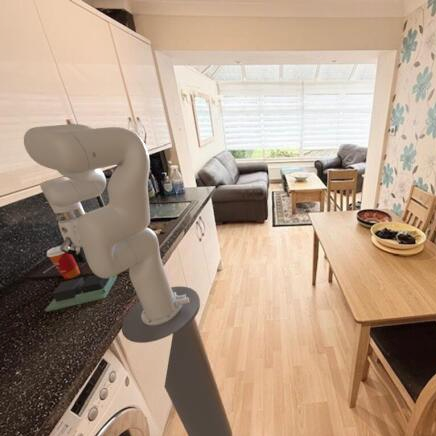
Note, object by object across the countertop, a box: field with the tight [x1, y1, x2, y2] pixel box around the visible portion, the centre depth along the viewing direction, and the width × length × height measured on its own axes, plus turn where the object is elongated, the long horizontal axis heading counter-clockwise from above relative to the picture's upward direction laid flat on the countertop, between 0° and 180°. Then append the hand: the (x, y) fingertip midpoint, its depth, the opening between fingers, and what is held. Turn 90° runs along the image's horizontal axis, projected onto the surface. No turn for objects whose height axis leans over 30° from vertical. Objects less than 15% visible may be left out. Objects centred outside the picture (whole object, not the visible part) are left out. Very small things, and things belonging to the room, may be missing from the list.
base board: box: [44, 275, 118, 313], centre depth 95 cm, size 19×14×5 cm
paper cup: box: [46, 244, 81, 280], centre depth 104 cm, size 8×8×14 cm
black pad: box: [80, 274, 108, 293], centre depth 96 cm, size 6×6×4 cm
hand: (91, 254), depth 91 cm, fingers open, 9 cm apart
